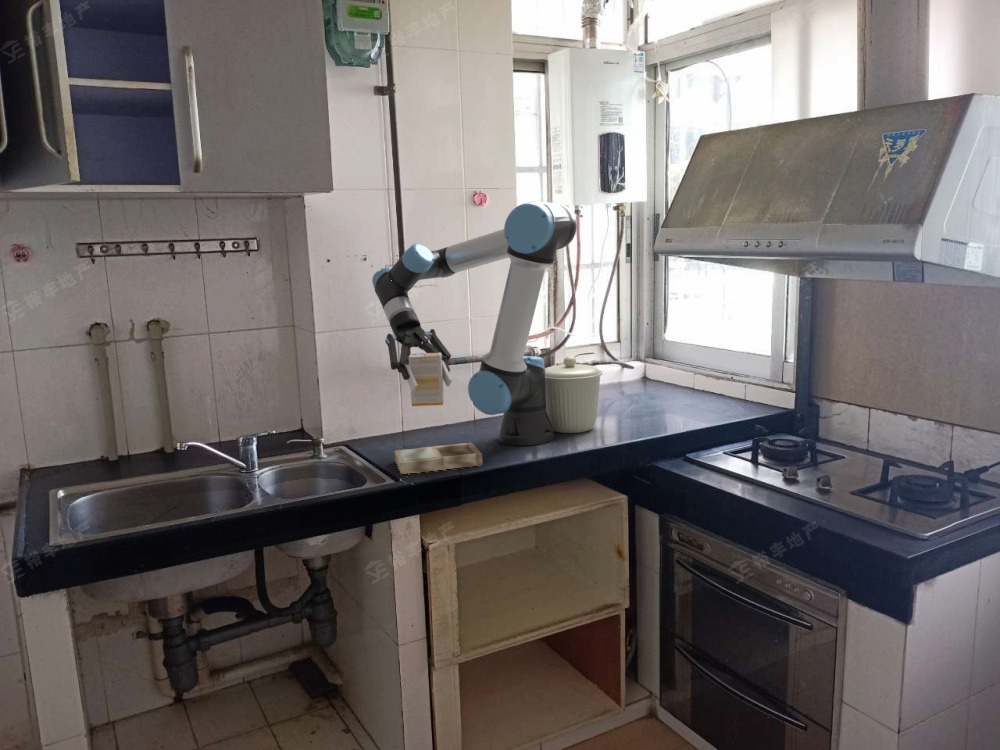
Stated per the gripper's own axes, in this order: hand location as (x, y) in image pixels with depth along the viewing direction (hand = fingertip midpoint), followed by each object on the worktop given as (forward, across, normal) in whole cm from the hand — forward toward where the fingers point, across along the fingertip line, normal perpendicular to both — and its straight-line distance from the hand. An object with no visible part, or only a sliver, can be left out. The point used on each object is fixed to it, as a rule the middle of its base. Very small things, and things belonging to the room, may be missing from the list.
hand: (432, 385), depth 202 cm
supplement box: (+2, 0, -6) cm, 6 cm away
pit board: (+18, +3, -8) cm, 20 cm away
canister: (+14, -43, -13) cm, 47 cm away
